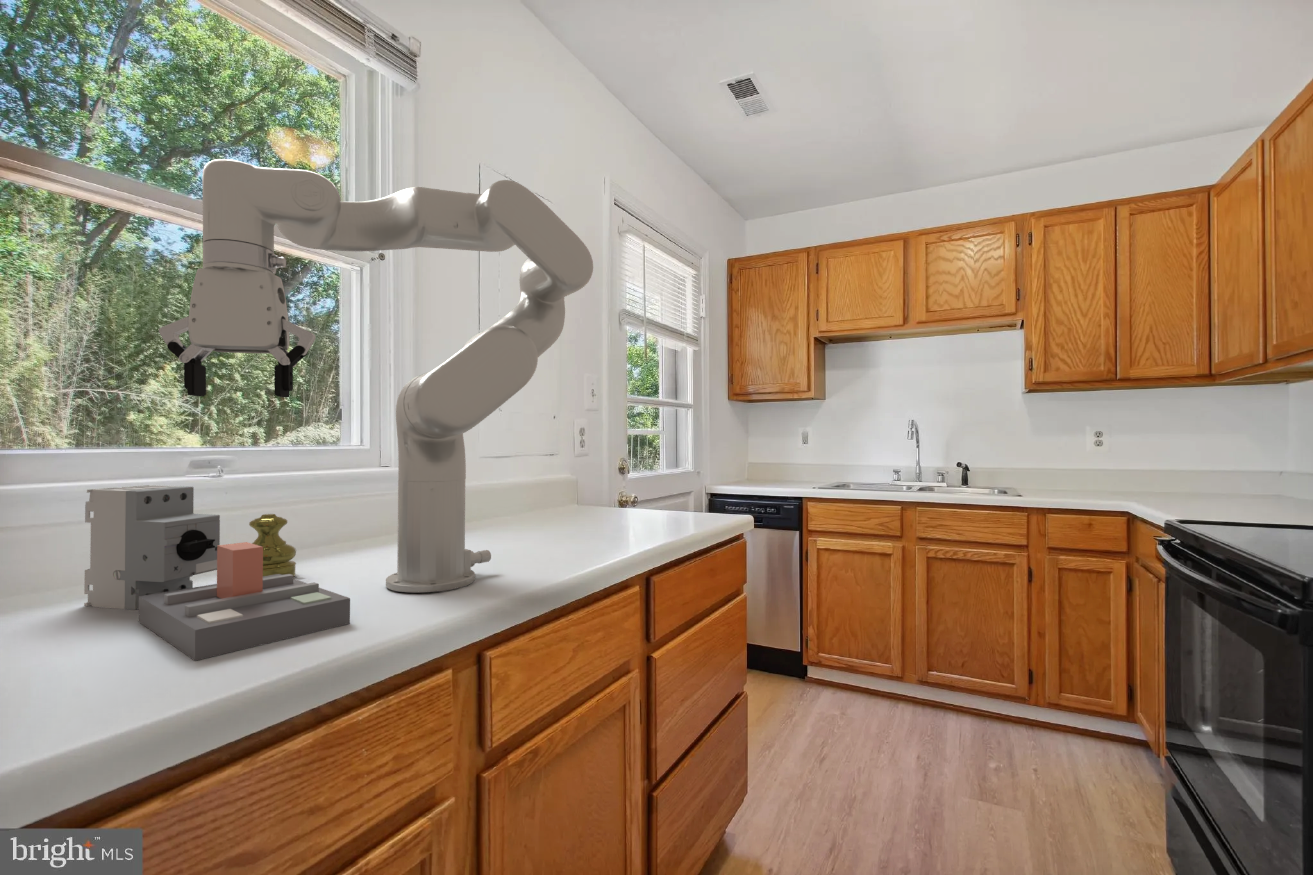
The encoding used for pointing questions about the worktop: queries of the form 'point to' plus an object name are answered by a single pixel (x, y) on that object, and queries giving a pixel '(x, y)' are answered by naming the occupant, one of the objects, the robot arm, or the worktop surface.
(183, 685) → the worktop surface
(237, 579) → the handle
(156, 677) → the worktop surface
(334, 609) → the breaker panel
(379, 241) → the robot arm
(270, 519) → the brass knob
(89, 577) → the circuit breaker
